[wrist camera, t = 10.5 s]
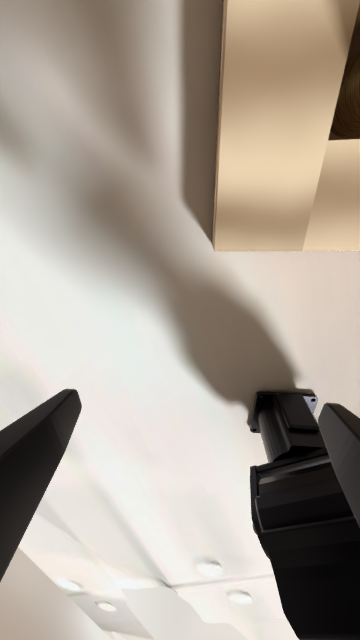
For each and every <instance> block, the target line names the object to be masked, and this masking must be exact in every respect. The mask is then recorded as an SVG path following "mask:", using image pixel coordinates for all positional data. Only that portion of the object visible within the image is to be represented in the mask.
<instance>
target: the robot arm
mask: <svg viewBox="0 0 360 640" xmlns="http://www.w3.org/2000/svg"><path fill="white" fill-rule="evenodd" d="M317 402H318V398H317V396H316V395H315V394H301V393H281V392H262V391H261V392H257V393H256V397H255V402H254V407H253V412H252V418H251V423H250V431H251V432H253V433H261V436H262V440H263V444H264V447H265V451H266V455H267V459H268V462H269V463H266V464H263V465H259V466H256V465H255V466H251V467H250V489H251V513H252V521H253V529H254V532H255V533H256V534H257V535H258V538H259V541H260V544H261V546H262V548H263V550H264V552H265V554H266V556H267V557H268V558H269V559H270V561H271V564H272V568H273V571H274V575H275V579H276V583H277V587H278V591H279V595H280V599H281V604H282V608H283V611H284V614H285V616H286V618H287V620H288V621H289V623H290V625H291V627H292V629H293V630H294V632H295V634H296V636H297V637H298V638H299V639H300V640H360V418H358V417H357V416H356V415H354V414H353V413H352V412H350V411H349V410H347V409H346V408H345V407H343V406H342V405H340V404H337V403H326V404H324V406H323V408H322V411H321V413H320V416H319V419H318V422H317V421H316V419H315V417H314V415H313V413H314V410H315V407H316V405H317ZM81 407H82V405H81V401H80V398H79V395H78V392H77V390H75V389H64V390H62V391H61V392H59V393H58V394H56V395H55V396H53V397H52V398H50V399H49V400H47V401H46V402H44V403H42V404H41V405H39V406H38V407H36V408H35V409H33V410H32V411H30V412H29V413H27V414H26V415H24V416H22V417H21V418H19V419H18V420H16V421H15V422H13V423H12V424H10V425H9V426H7V427H6V428H4V429H3V430H1V431H0V582H1V580H2V577H3V576H4V574H5V571H6V570H7V568H8V566H9V563H10V561H11V560H12V557H13V555H14V553H15V551H16V549H17V547H18V545H19V543H20V541H21V539H22V537H23V535H24V533H25V531H26V529H27V527H28V525H29V523H30V521H31V519H32V517H33V515H34V513H35V511H36V509H37V507H38V505H39V503H40V501H41V499H42V497H43V495H44V493H45V491H46V489H47V487H48V485H49V483H50V481H51V479H52V477H53V475H54V473H55V471H56V469H57V467H58V465H59V463H60V461H61V459H62V457H63V455H64V452H65V450H66V448H67V445H68V443H69V440H70V438H71V435H72V432H73V430H74V427H75V425H76V422H77V420H78V417H79V414H80V412H81Z"/></svg>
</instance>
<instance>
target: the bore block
mask: <svg viewBox="0 0 360 640" xmlns="http://www.w3.org/2000/svg"><path fill="white" fill-rule="evenodd" d="M359 51H360V0H223V14H222V35H221V56H220V78H219V99H218V121H217V142H216V163H215V185H214V206H213V228H212V246H213V249H214V251H360V135H358V136H355V137H351V138H343V137H339V136H337V135H335V134H334V133H333V132H332V131H331V130H330V129H331V125H332V120H333V116H334V112H335V108H336V103H337V99H338V95H339V90H340V86H341V82H342V77H343V73H344V69H345V65H346V64H347V63H348V62H349V61H350V60H351V59H352V58H353V57H354V56H355V55H356V54H357V53H358V52H359Z"/></svg>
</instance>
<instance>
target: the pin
mask: <svg viewBox="0 0 360 640" xmlns="http://www.w3.org/2000/svg"><path fill="white" fill-rule="evenodd" d="M330 130H331V131H332V132H333V133H334V134H335V135H337V136H339V137H343V138H351V137H355V136H358V135H360V51H359V52H358V53H357V54H356V55H355V56H354V57H353V58H352V59H351V60H350V61H349V62H348V63H347V64H346V65H345V69H344V73H343V77H342V82H341V86H340V90H339V95H338V99H337V103H336V108H335V112H334V116H333V120H332V125H331V129H330Z"/></svg>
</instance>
